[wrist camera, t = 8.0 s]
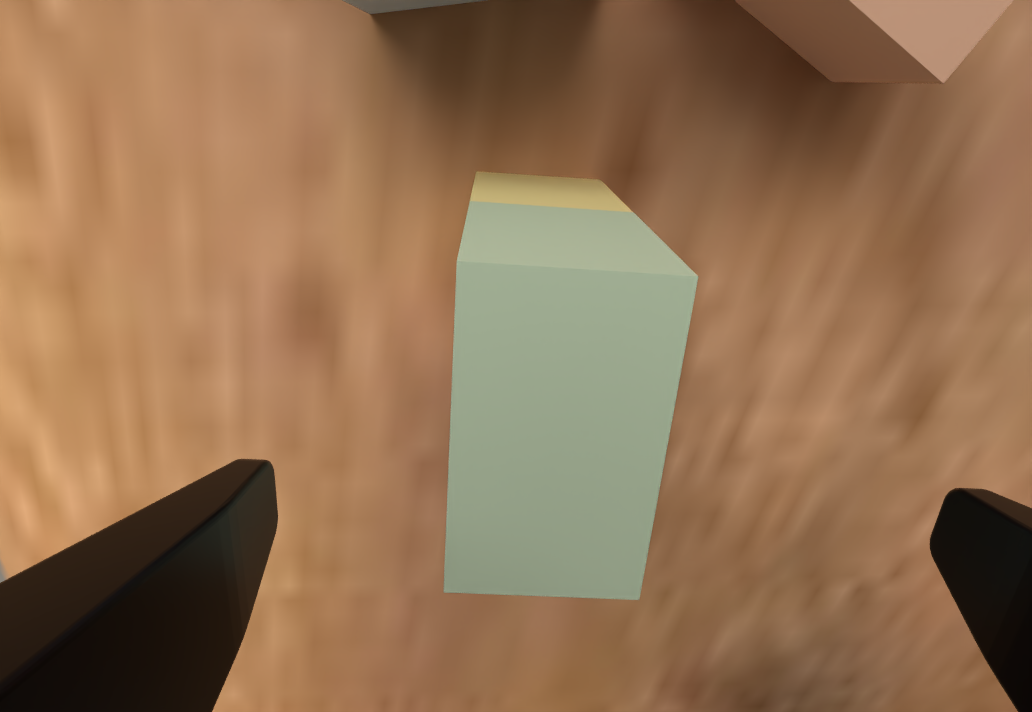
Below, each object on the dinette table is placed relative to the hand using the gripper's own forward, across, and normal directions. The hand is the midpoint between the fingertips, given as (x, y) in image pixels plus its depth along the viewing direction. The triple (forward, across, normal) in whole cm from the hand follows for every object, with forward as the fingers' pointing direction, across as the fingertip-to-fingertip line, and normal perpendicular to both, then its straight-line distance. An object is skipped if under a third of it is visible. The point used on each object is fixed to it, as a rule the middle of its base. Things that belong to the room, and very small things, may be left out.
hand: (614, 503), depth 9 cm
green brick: (+7, 0, 0) cm, 7 cm away
